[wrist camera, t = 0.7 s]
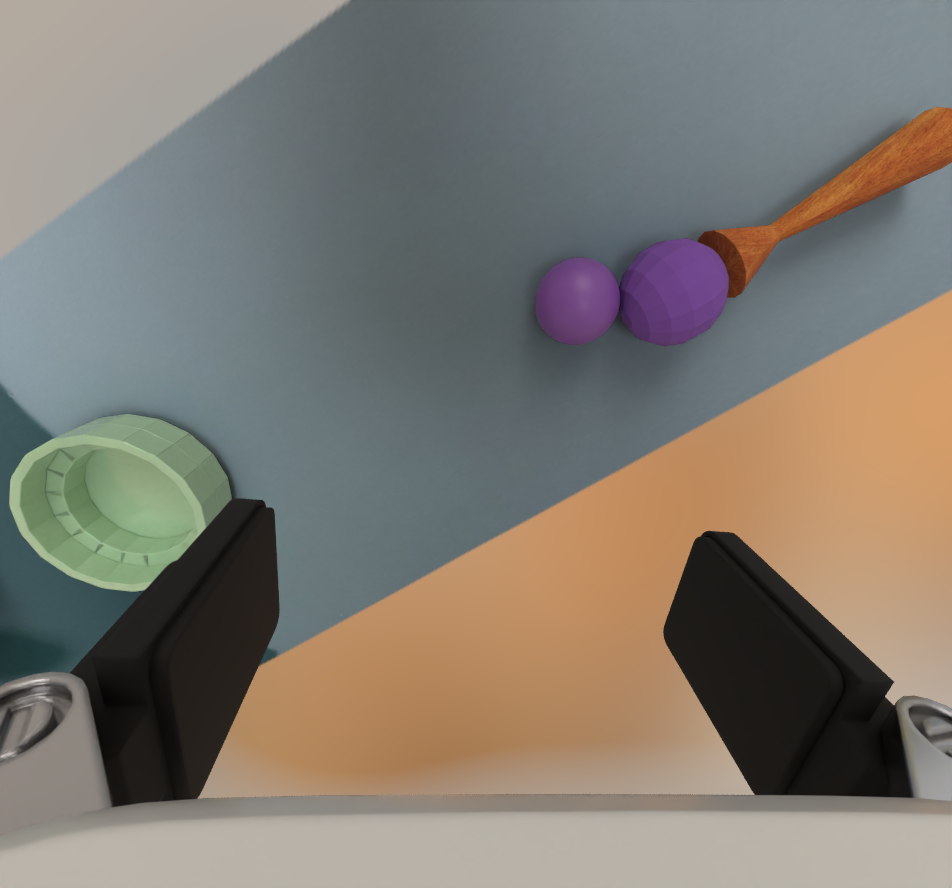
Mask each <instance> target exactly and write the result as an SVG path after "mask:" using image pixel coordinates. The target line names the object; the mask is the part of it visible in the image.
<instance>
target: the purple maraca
mask: <svg viewBox="0 0 952 888" xmlns="http://www.w3.org/2000/svg"><path fill="white" fill-rule="evenodd" d="M951 162H952V109H950V108H941V107H936V108H933V109H930V110H927V111H924V112H923V113H921V114H920V115H919V116H917V117H916V118H915V119H913V120H912V121H911V122H909V123H908V124H906V125H905V126H904V127H902V128H901V129H900V130H898V131H897V132H896V133H894V134H893V135H891V136H890V137H889V138H887V139H886V140H885V141H883V142H882V143H881V144H879V145H878V146H877V147H875V148H874V149H872V150H871V151H870V152H868V153H867V154H866V155H864V156H863V157H862V158H860V159H859V160H857V161H856V162H855V163H853V164H852V165H851V166H849V167H848V168H847V169H845V170H844V171H843V172H841V173H840V174H838V175H837V176H836V177H834V178H833V179H832V180H830V181H829V182H828V183H826V184H825V185H824V186H822V187H821V188H819V189H818V190H817V191H815V192H814V193H813V194H811V195H810V196H809V197H807V198H806V199H804V200H803V201H802V202H800V203H799V204H798V205H796V206H795V207H794V208H792V209H791V210H790V211H788V212H787V213H785V214H784V215H783V216H781V217H780V218H779V219H777V220H776V221H775V222H773V223H772V224H770V225H767V226H756V227H746V228H735V229H724V230H713V231H708V232H704V233H703V234H702V235H701V236H700V237H699V238H698V242H696V241H693V240H691V239H688V238H685V239H677V240H670V241H663V242H658V243H656V244H654V245H653V246H651V247H649V248H647V249H646V250H644V251H642V252H641V253H639V255H638V256H637V257H636V259H635V260H634V261H633V262H632V264H631V265H630V266H629V268H628V269H627V270H626V272H625V273H624V274H623V276H622V279H621V283H620V287H619V290H620V306H619V311H620V314H621V317H622V320H623V322H624V323H625V325H626V326H627V327H628V328H629V329H630V331H631V332H632V333H633V334H634V335H635V336H636V337H638V338H639V339H640V340H644V341H647V342H651V343H654V344H658V345H662V346H668V345H675V344H682V343H685V342H687V341H688V340H690V339H692V338H694V337H695V336H697V335H699V334H701V333H702V332H704V331H706V330H708V329H709V328H710V327H711V326H712V324H713V323H714V322H715V320H716V319H717V318H718V316H719V315H720V314H721V313H722V310H723V308H724V305H725V303H726V299H727V297H731V298H734V297H736V296H738V295H739V294H741V293H742V292H743V290H744V289H745V287H746V286H747V285H748V283H749V282H750V280H751V279H752V278H753V276H754V275H755V273H756V272H757V271H758V269H759V268H760V266H761V265H762V264H763V262H764V261H765V259H766V258H767V257H768V255H769V254H770V252H771V251H772V250H773V248H774V247H775V245H776V244H777V243H778V242H779V241H781V240H783V239H786V238H788V237H790V236H792V235H795V234H797V233H799V232H801V231H803V230H806V229H808V228H810V227H812V226H815V225H817V224H819V223H821V222H823V221H826V220H828V219H830V218H832V217H834V216H837V215H839V214H841V213H843V212H846V211H848V210H850V209H852V208H854V207H857V206H859V205H861V204H863V203H866V202H868V201H870V200H872V199H874V198H877V197H879V196H881V195H883V194H886V193H888V192H890V191H892V190H894V189H897V188H899V187H901V186H903V185H906V184H908V183H910V182H912V181H914V180H917V179H919V178H921V177H923V176H925V175H928V174H930V173H932V172H934V171H937V170H939V169H941V168H943V167H945V166H947V165H948V164H950V163H951Z"/></svg>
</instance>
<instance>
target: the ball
mask: <svg viewBox="0 0 952 888" xmlns="http://www.w3.org/2000/svg"><path fill="white" fill-rule="evenodd" d="M619 306H620V290H619V286H618V283H617V281H616V279H615V277H614V275H613V274H612V272H611V271H610V270H609V269H608V268H607V267H606V266H605V265H603V264H602V263H600V262H598V261H596V260H593V259H590V258H584V257H577V258H571V259H567V260H564V261H562V262H560V263H558V264H556V265H555V266H554V267H552V268H551V269H550V270H549V271H548V272H547V273H546V274H545V276H544V277H543V279H542V280H541V282H540V284H539V286H538V289H537V292H536V296H535V312H536V316H537V319H538V321H539V324H540V325H541V327H542V328H543V330H544V331H545V332H546V333H547V334H548V335H549V336H550V337H552V338H553V339H555V340H557V341H559V342H561V343H565V344H570V345H579V344H585V343H588V342H591V341H593V340H595V339H597V338H599V337H600V336H601V335H603V334H604V333H605V332H606V331H607V330H608V329H609V328H610V327H611V325H612V324H613V322H614V320H615V318H616V316H617V314H618V310H619Z"/></svg>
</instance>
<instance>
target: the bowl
mask: <svg viewBox="0 0 952 888" xmlns="http://www.w3.org/2000/svg"><path fill="white" fill-rule="evenodd" d="M230 500H232V497H231V491H230V486H229V481H228V477H227V475H226V474H225V472H224V471H223V469H222V467H221V466H220V464H219V462H218V461H217V459H216V457H215V456H214V454H213V453H212V452H210V451H209V450H208V449H207V448H206V447H205V446H204V445H202V444H201V443H200V442H199V441H198V440H197V439H196V438H194V437H193V436H192V435H191V434H189V433H188V432H186V431H184V430H182V429H180V428H177V427H175V426H173V425H171V424H169V423H167V422H165V421H163V420H159V419H155V418H149V417H143V416H137V415H131V414H122V415H116V416H109V417H102V418H97V419H95V420H93V421H90V422H88V423H86V424H84V425H82V426H80V427H77V428H75V429H73V430H71V431H69V432H67V433H64V434H62V435H60V436H58V437H56V438H54V439H51V440H49V441H48V442H46V443H44V444H43V445H41V446H39V447H38V448H36V449H34V450H32V451H31V452H29V453H27V454H26V455H25V456H24V457H23V459H22V461H21V462H20V464H19V466H18V467H17V469H16V470H15V472H14V474H13V475H12V477H11V479H10V500H9V505H10V506H9V507H10V509H11V511H12V514H13V516H14V519H15V521H16V524H17V526H18V529H19V531H20V533H21V535H22V536H23V537H24V538H25V539H26V540H27V542H28V543H29V544H30V545H31V546H32V547H33V548H34V550H35V551H36V552H37V553H38V554H39V555H40V556H41V557H42V558H43V559H45V560H46V561H48V562H49V563H51V564H52V565H54V566H55V567H57V568H58V569H60V570H61V571H63V572H64V573H66V574H67V575H69V576H71V577H73V578H76V579H79V580H81V581H84V582H87V583H89V584H92V585H95V586H98V587H100V588H101V587H102V588H105V589H114V590H123V591H131V592H133V591H134V592H135V591H141V590H145V589H146V588H147V587H148V586H149V585H150V584H151V583H152V582H153V581H154V579H155V578H156V577H157V576H158V575H159V574H160V573H161V572H162V571H163V570H164V568H165V567H166V566H168V565H169V564H170V563H171V562H173V561H176V560H178V559H179V558H180V557H181V555H182V554H183V553H184V552H185V551H186V550H187V549H188V547H189V546H190V545H191V544H192V543H193V542H194V541H195V540H196V538H197V537H198V536H199V535H200V534H201V533H202V532H203V531H204V529H205V528H206V527H207V526H208V525H209V524H210V523H211V522H212V520H213V519H214V518H215V517H216V516H217V515H218V514H219V513H220V511H221V510H222V509H223V508H224V507H225V506H226V505H227V504H228V502H229V501H230Z"/></svg>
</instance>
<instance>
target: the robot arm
mask: <svg viewBox="0 0 952 888" xmlns="http://www.w3.org/2000/svg"><path fill="white" fill-rule="evenodd" d="M278 618H279V590H278V571H277V552H276V532H275V514H274V510H273V508H267V507H266V505H265V502H264V501H263V500H253V499H238V498H233V499H232V500H230V501H229V502H228V504H227V505H226V506H225V507H224V508H223V509H222V510H221V511H220V513H219V514H218V515H217V516H216V517H215V518H214V519H213V520H212V522H211V523H210V524H209V525H208V526H207V527H206V528H205V529H204V531H203V532H202V533H201V534H200V535H199V536H198V537H197V538H196V540H195V541H194V542H193V543H192V544H191V545H190V546H189V547H188V549H187V550H186V551H185V552H184V553H183V554H182V555H181V557H180V558H179V559H178V560H176V561H173V562H171V563H170V564H169V565H168V566H166V567H165V568H164V570H163V571H162V572H161V573H160V574H159V575H158V576H157V577H156V578H155V579H154V581H153V582H152V583H151V584H150V585H149V586H148V587H147V588H146V589H145V591H144V592H143V593H142V594H141V595H140V596H139V597H138V598H137V599H136V600H135V602H134V603H133V604H132V605H131V606H130V607H129V608H128V609H127V610H126V612H125V613H124V614H123V615H122V616H121V617H120V618H119V619H118V620H117V621H116V623H115V624H114V625H113V626H112V627H111V628H110V629H109V630H108V631H107V633H106V634H105V635H104V636H103V637H102V638H101V639H100V640H99V641H98V642H97V644H96V645H95V646H94V647H93V648H92V649H91V650H90V651H89V652H88V654H87V655H86V656H85V657H84V658H83V659H82V660H81V661H80V662H79V663H78V665H77V666H76V667H75V668H74V669H73V670H72V671H71V672H70V673H61V672H48V673H41V674H33V675H30V676H27V677H23V678H20V679H17V680H13V681H10V682H8V683H6V684H3V685H1V686H0V888H952V709H951V708H949V707H947V706H946V705H943V704H941V703H938V702H935V701H933V700H930V699H927V698H922V697H917V696H903V697H902V698H900V699H899V700H898V701H897V702H896V703H895V705H893V704H892V703H891V702H890V701H889V700H888V699H887V698H886V697H885V695H886V694H887V692H888V691H889V689H890V688H891V686H892V684H893V683H894V682H893V680H891V679H890V678H889V677H888V676H887V675H886V674H885V673H884V672H883V671H882V670H881V669H880V668H879V667H877V666H876V665H875V664H874V663H873V662H872V661H871V660H870V659H869V658H868V657H867V656H866V655H865V654H864V653H862V652H861V651H860V650H859V649H858V648H857V647H856V646H855V645H854V644H853V643H852V642H851V641H849V639H847V638H846V637H845V636H844V635H843V634H842V633H841V632H840V631H839V630H838V629H837V628H836V627H835V626H834V625H832V624H831V623H830V622H829V621H828V620H827V619H826V618H825V617H824V616H823V615H822V614H821V613H820V612H818V611H817V610H816V609H815V608H814V607H813V606H812V605H811V604H810V603H809V602H808V601H807V600H806V599H804V598H803V597H802V596H801V595H800V594H799V593H798V592H797V591H796V590H795V589H794V588H793V587H792V586H790V585H789V584H788V583H787V582H786V581H785V580H784V579H783V578H782V577H781V576H780V575H779V574H778V573H777V572H776V571H774V570H773V569H772V568H771V567H770V566H769V565H768V564H767V563H766V562H765V561H764V560H763V559H762V558H761V557H759V556H758V555H757V554H756V553H755V552H754V551H753V550H752V549H751V548H750V547H749V546H748V545H746V544H745V543H744V542H743V541H742V540H741V539H740V538H739V537H738V536H737V535H735V534H734V533H729V532H716V531H706V532H704V533H703V534H702V535H701V537H698V538H696V539H695V541H694V543H693V546H692V549H691V552H690V554H689V557H688V560H687V563H686V566H685V568H684V571H683V574H682V577H681V580H680V583H679V585H678V588H677V591H676V594H675V597H674V600H673V602H672V605H671V608H670V611H669V614H668V616H667V619H666V622H665V625H664V631H663V633H664V639H665V642H666V644H667V646H668V648H669V649H670V651H671V653H672V655H673V656H674V658H675V660H676V661H677V663H678V665H679V666H680V668H681V670H682V672H683V673H684V675H685V677H686V678H687V680H688V682H689V684H690V685H691V687H692V689H693V691H694V692H695V694H696V696H697V697H698V699H699V701H700V703H701V704H702V706H703V708H704V709H705V711H706V713H707V715H708V716H709V718H710V720H711V721H712V723H713V725H714V726H715V728H716V730H717V731H718V733H719V735H720V737H721V738H722V740H723V742H724V744H725V745H726V747H727V749H728V750H729V752H730V754H731V756H732V757H733V759H734V760H735V762H736V764H737V766H738V767H739V769H740V771H741V772H742V774H743V776H744V778H745V780H746V781H747V783H748V785H749V786H750V788H751V790H752V791H753V793H754V794H755V795H631V794H629V795H628V794H622V795H621V794H617V795H615V794H614V795H613V794H612V795H610V794H609V795H608V794H607V795H605V794H604V795H603V794H594V795H590V794H586V795H585V794H567V795H566V794H558V795H557V794H545V795H543V794H534V795H533V794H527V795H526V794H523V795H522V794H516V795H515V794H513V795H512V794H510V795H509V794H505V795H504V794H503V795H501V794H500V795H498V794H492V795H490V794H488V795H321V796H281V797H238V798H203V799H197V798H198V796H199V795H200V793H201V791H202V789H203V787H204V785H205V783H206V781H207V779H208V776H209V774H210V772H211V769H212V768H213V765H214V763H215V761H216V759H217V757H218V754H219V752H220V750H221V748H222V746H223V743H224V741H225V739H226V737H227V735H228V732H229V730H230V728H231V725H232V724H233V721H234V719H235V717H236V715H237V713H238V710H239V708H240V706H241V704H242V702H243V699H244V697H245V695H246V693H247V690H248V688H249V686H250V684H251V682H252V680H253V677H254V675H255V673H256V671H257V669H258V666H259V664H260V662H261V660H262V657H263V655H264V653H265V651H266V649H267V646H268V644H269V642H270V640H271V638H272V635H273V633H274V631H275V629H276V626H277V623H278Z"/></svg>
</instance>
